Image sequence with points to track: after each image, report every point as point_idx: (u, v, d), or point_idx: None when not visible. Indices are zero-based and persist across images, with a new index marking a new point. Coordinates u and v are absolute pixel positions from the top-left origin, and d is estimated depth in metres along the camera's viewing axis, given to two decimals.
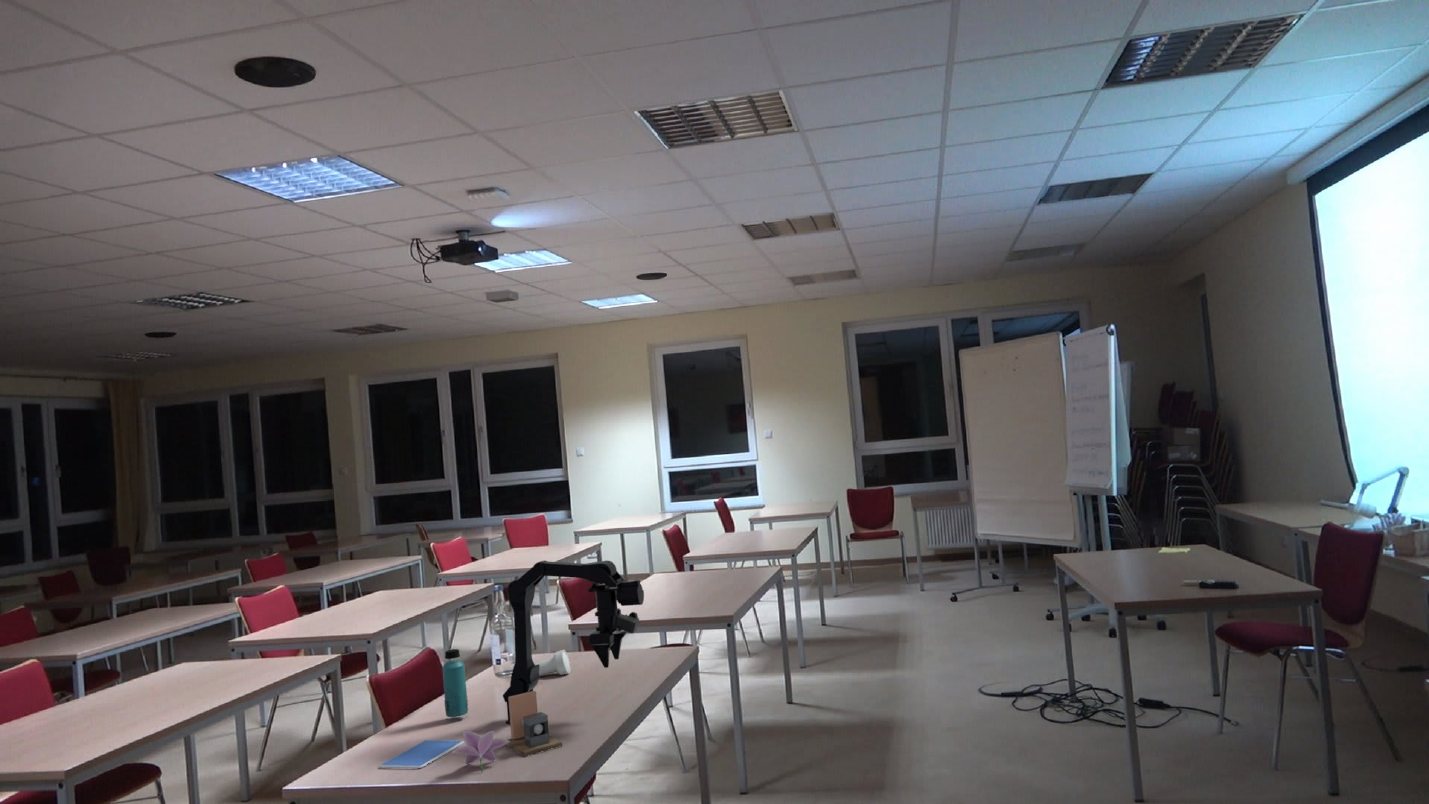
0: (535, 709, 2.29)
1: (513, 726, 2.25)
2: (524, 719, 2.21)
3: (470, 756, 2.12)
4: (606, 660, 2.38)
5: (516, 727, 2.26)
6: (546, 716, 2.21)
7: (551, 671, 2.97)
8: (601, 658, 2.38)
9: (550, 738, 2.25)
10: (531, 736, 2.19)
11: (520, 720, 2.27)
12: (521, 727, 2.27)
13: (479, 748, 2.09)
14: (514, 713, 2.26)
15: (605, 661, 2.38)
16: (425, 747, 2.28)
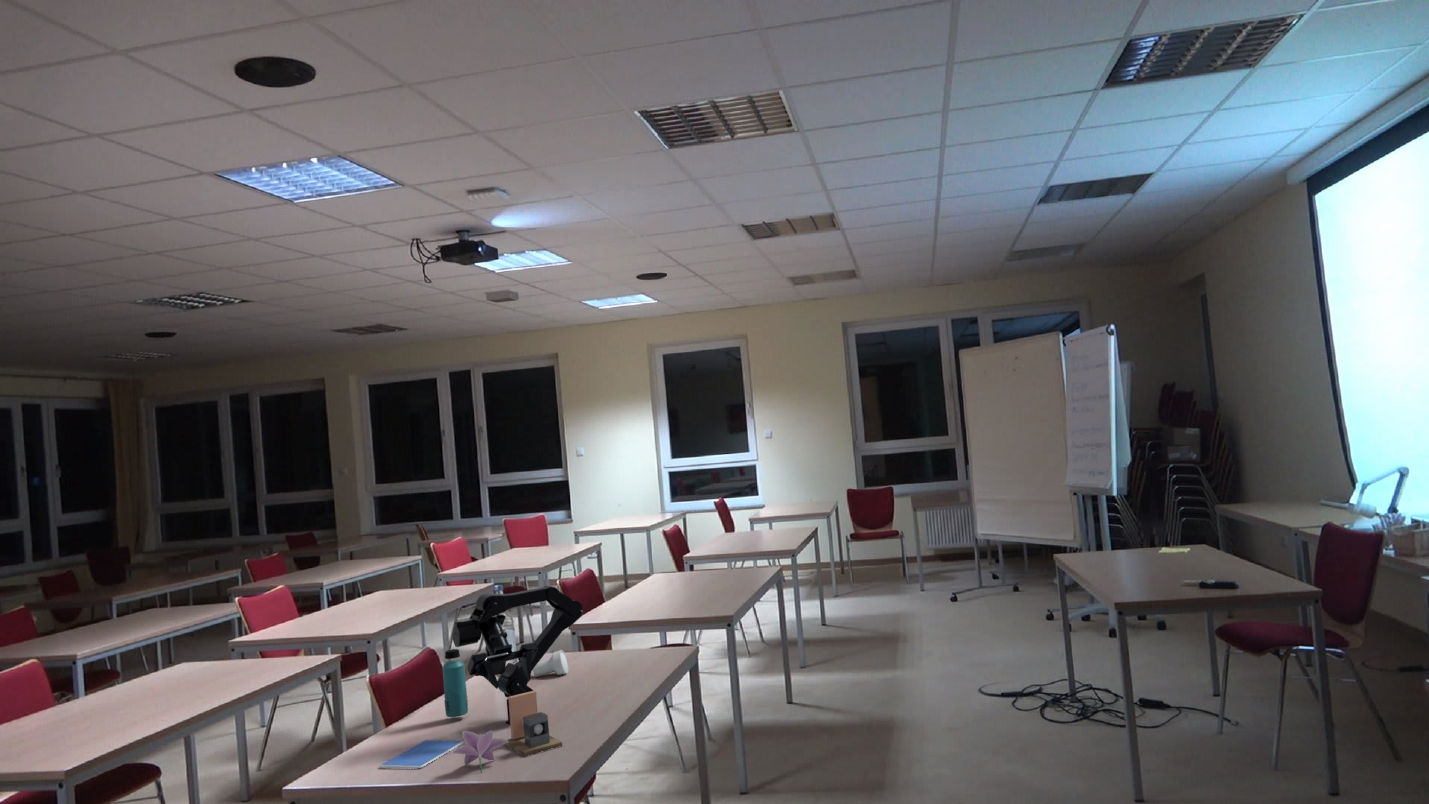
0: (535, 709, 2.29)
1: (513, 726, 2.25)
2: (524, 719, 2.21)
3: (469, 756, 2.12)
4: None
5: (516, 727, 2.26)
6: (546, 716, 2.21)
7: (549, 671, 2.97)
8: None
9: (550, 738, 2.25)
10: (531, 736, 2.19)
11: (520, 720, 2.27)
12: (521, 727, 2.27)
13: (478, 748, 2.09)
14: (514, 713, 2.26)
15: None
16: (425, 747, 2.28)
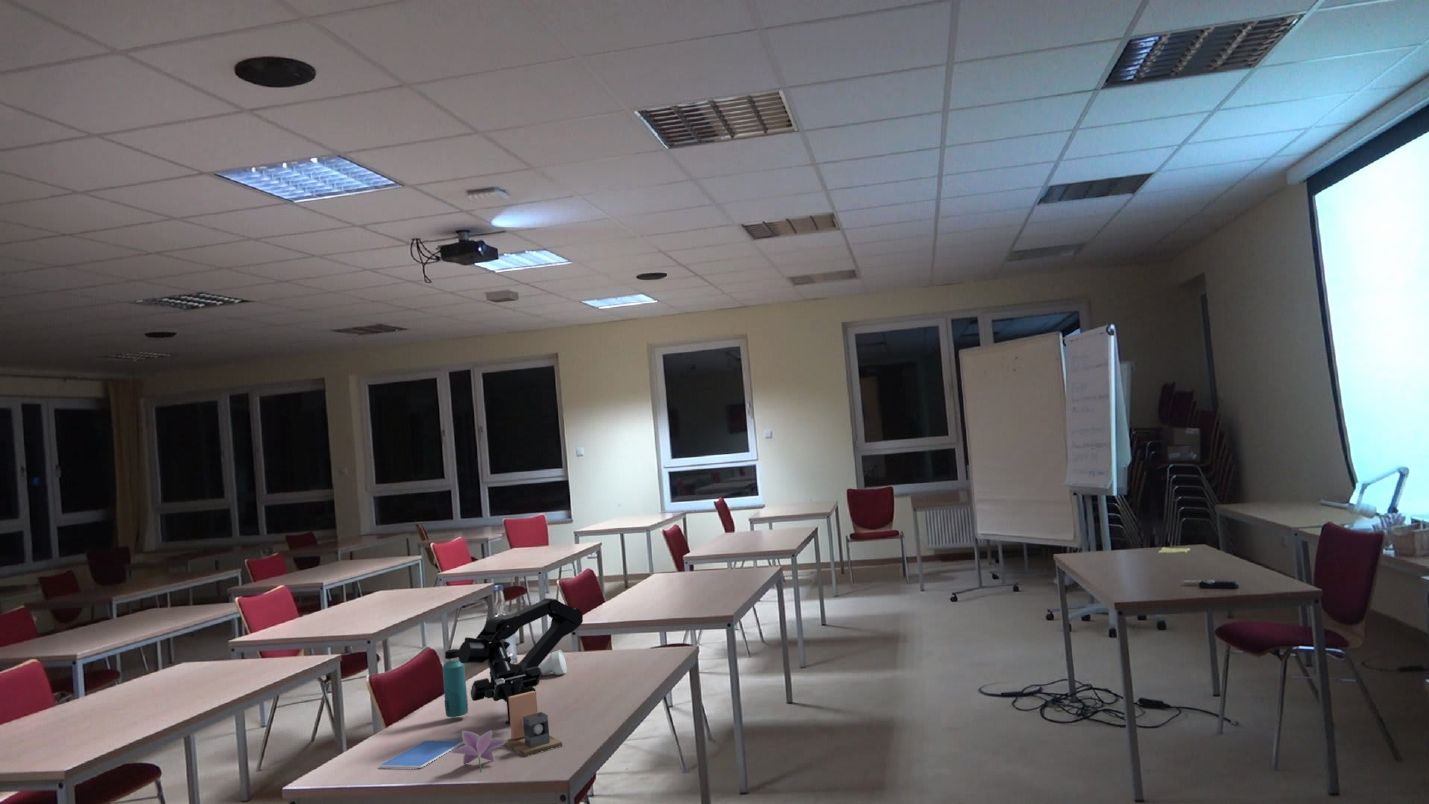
0: (535, 709, 2.29)
1: (513, 726, 2.25)
2: (524, 719, 2.21)
3: (468, 755, 2.12)
4: None
5: (516, 727, 2.26)
6: (546, 716, 2.21)
7: (547, 671, 2.97)
8: None
9: (550, 738, 2.25)
10: (531, 736, 2.19)
11: (520, 720, 2.27)
12: (521, 727, 2.27)
13: (478, 748, 2.09)
14: (514, 713, 2.26)
15: None
16: (425, 747, 2.28)
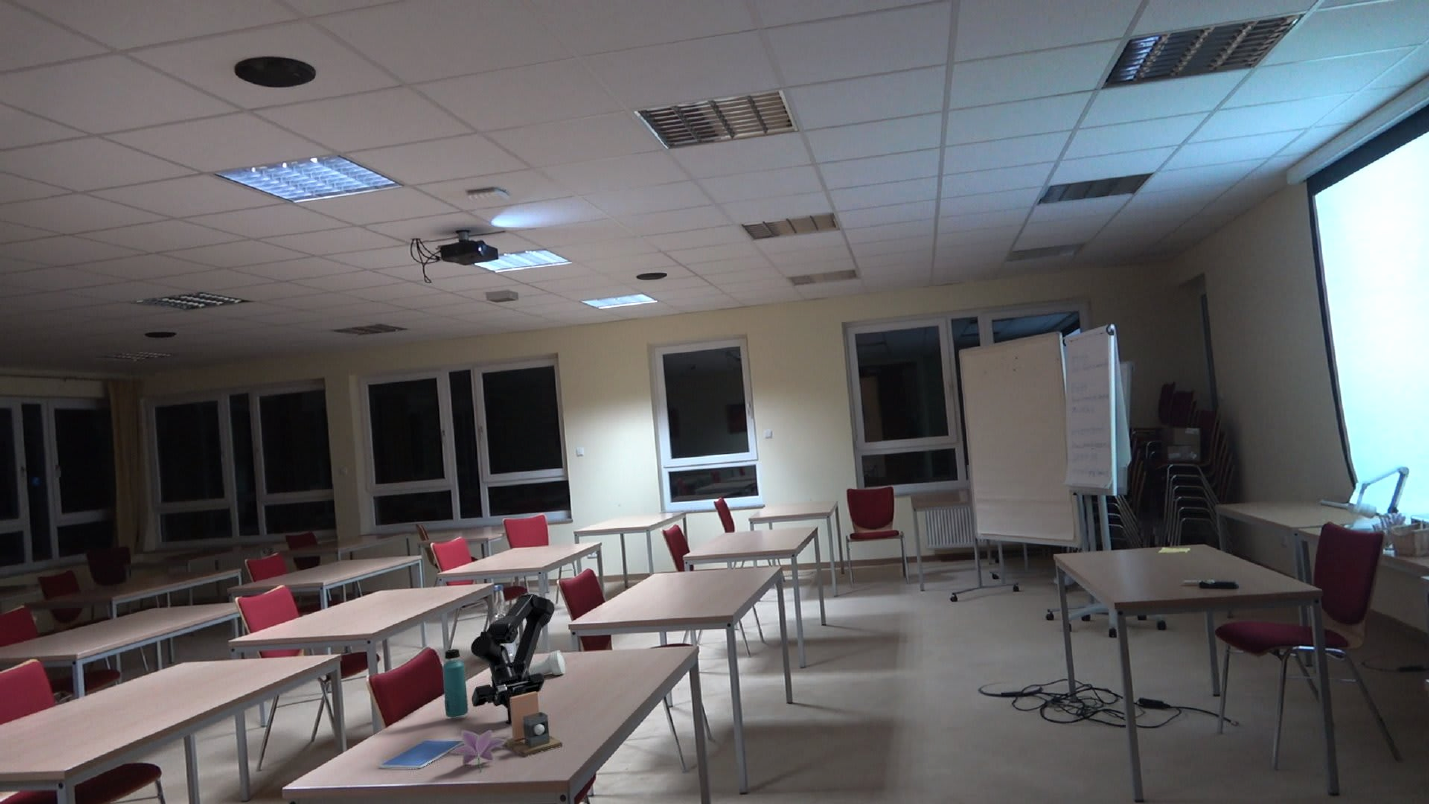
0: (536, 710, 2.28)
1: (514, 727, 2.25)
2: (524, 719, 2.21)
3: (468, 755, 2.12)
4: None
5: (517, 728, 2.25)
6: (546, 716, 2.21)
7: (546, 671, 2.97)
8: None
9: (550, 738, 2.25)
10: (531, 736, 2.19)
11: (521, 721, 2.26)
12: (522, 728, 2.26)
13: (477, 747, 2.09)
14: (515, 714, 2.25)
15: None
16: (425, 747, 2.28)
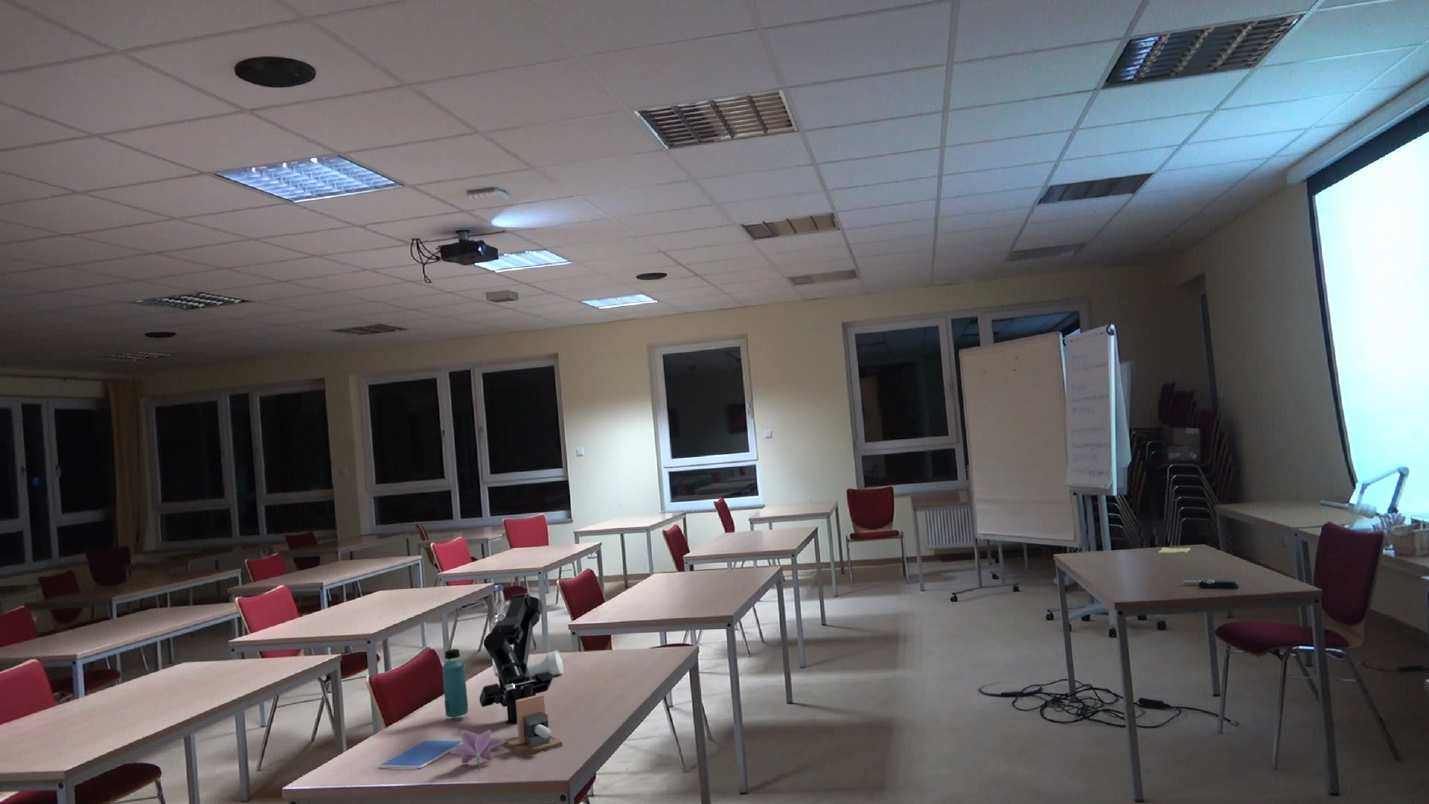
0: None
1: (520, 730, 2.21)
2: (524, 719, 2.21)
3: (467, 755, 2.12)
4: None
5: (523, 731, 2.22)
6: (546, 716, 2.21)
7: None
8: None
9: (550, 738, 2.25)
10: (531, 736, 2.19)
11: None
12: None
13: (476, 747, 2.10)
14: (521, 717, 2.22)
15: None
16: (425, 747, 2.28)
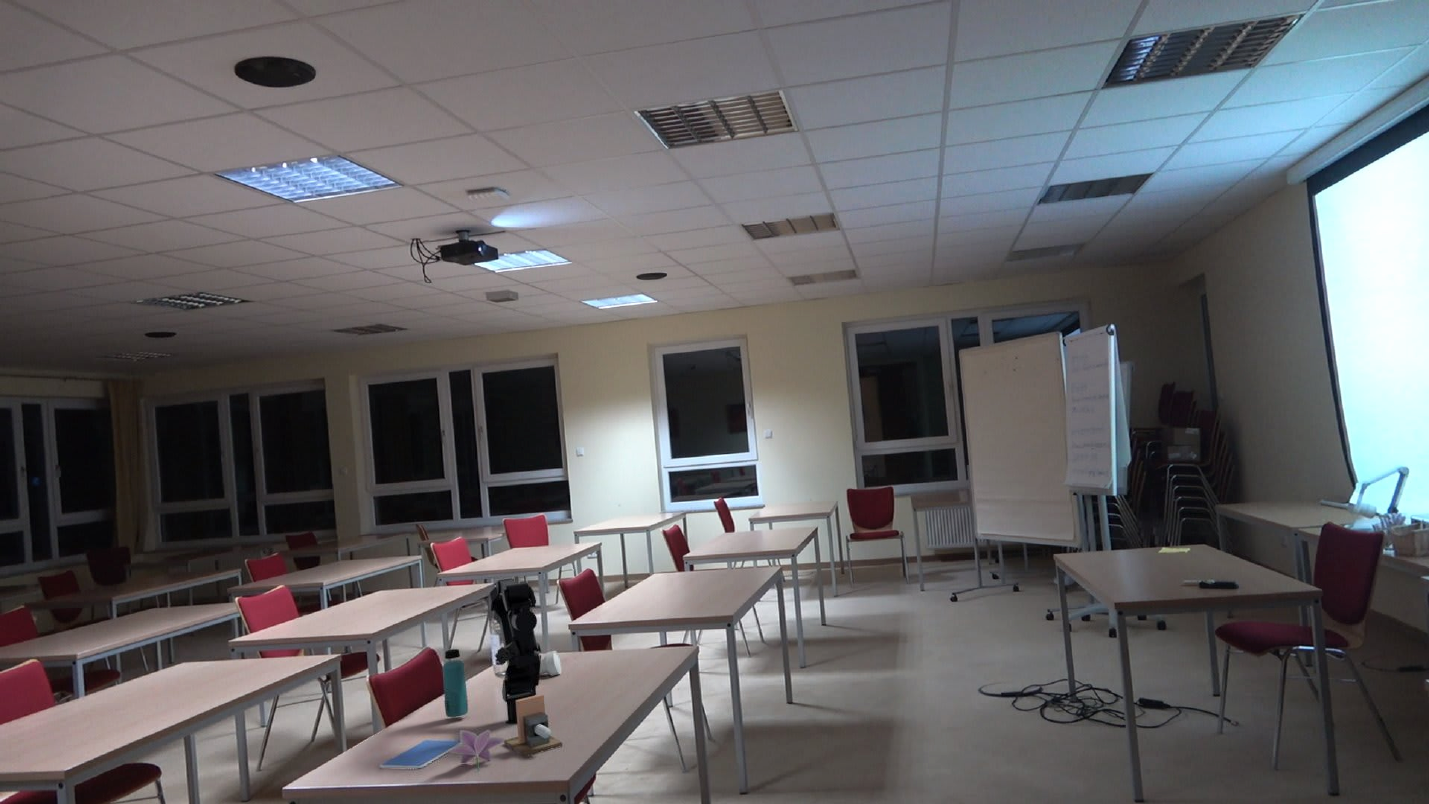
0: None
1: (520, 730, 2.21)
2: (524, 719, 2.21)
3: (466, 755, 2.13)
4: None
5: (523, 731, 2.22)
6: (546, 716, 2.21)
7: (542, 672, 2.97)
8: None
9: (550, 738, 2.25)
10: (531, 736, 2.19)
11: None
12: None
13: (475, 747, 2.10)
14: (521, 717, 2.22)
15: None
16: (425, 747, 2.28)
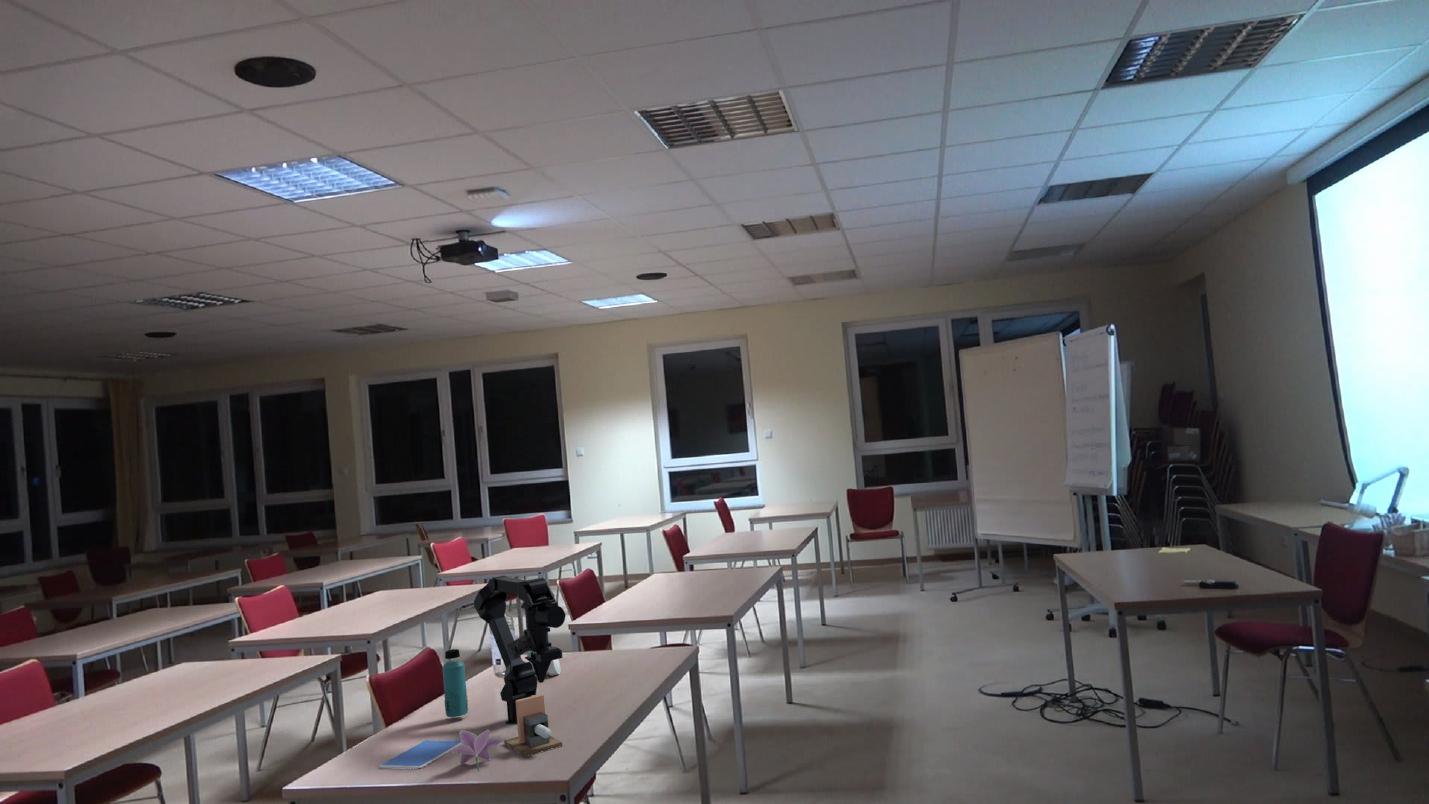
0: None
1: (520, 730, 2.21)
2: (524, 719, 2.21)
3: (465, 755, 2.13)
4: None
5: (523, 731, 2.22)
6: (546, 716, 2.21)
7: None
8: None
9: (550, 738, 2.25)
10: (531, 736, 2.19)
11: None
12: None
13: (475, 747, 2.10)
14: (521, 717, 2.22)
15: None
16: (425, 747, 2.28)
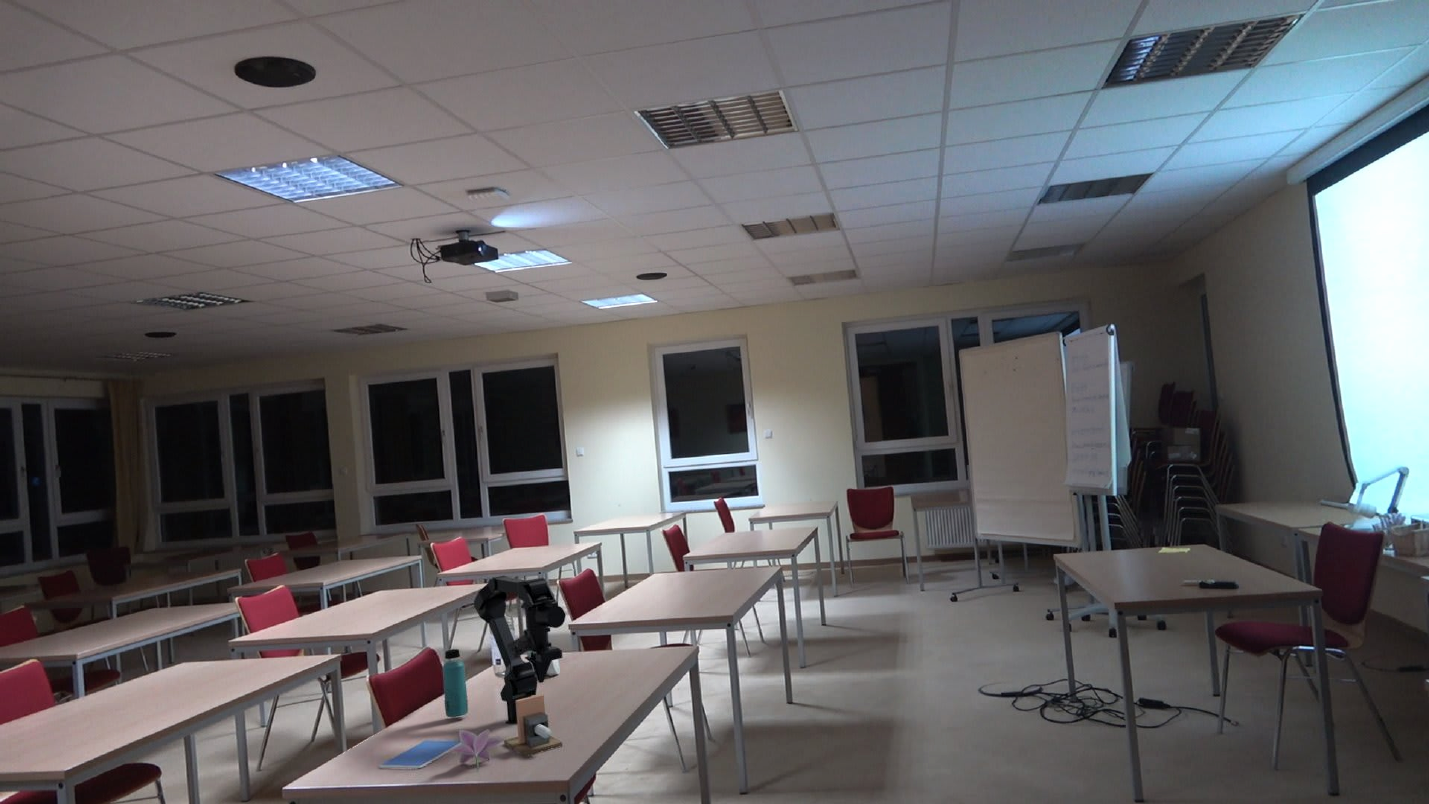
0: None
1: (520, 730, 2.21)
2: (524, 719, 2.21)
3: (465, 755, 2.13)
4: None
5: (523, 731, 2.22)
6: (546, 716, 2.21)
7: None
8: None
9: (550, 738, 2.25)
10: (531, 736, 2.19)
11: None
12: None
13: (475, 747, 2.10)
14: (521, 717, 2.22)
15: None
16: (425, 747, 2.28)
